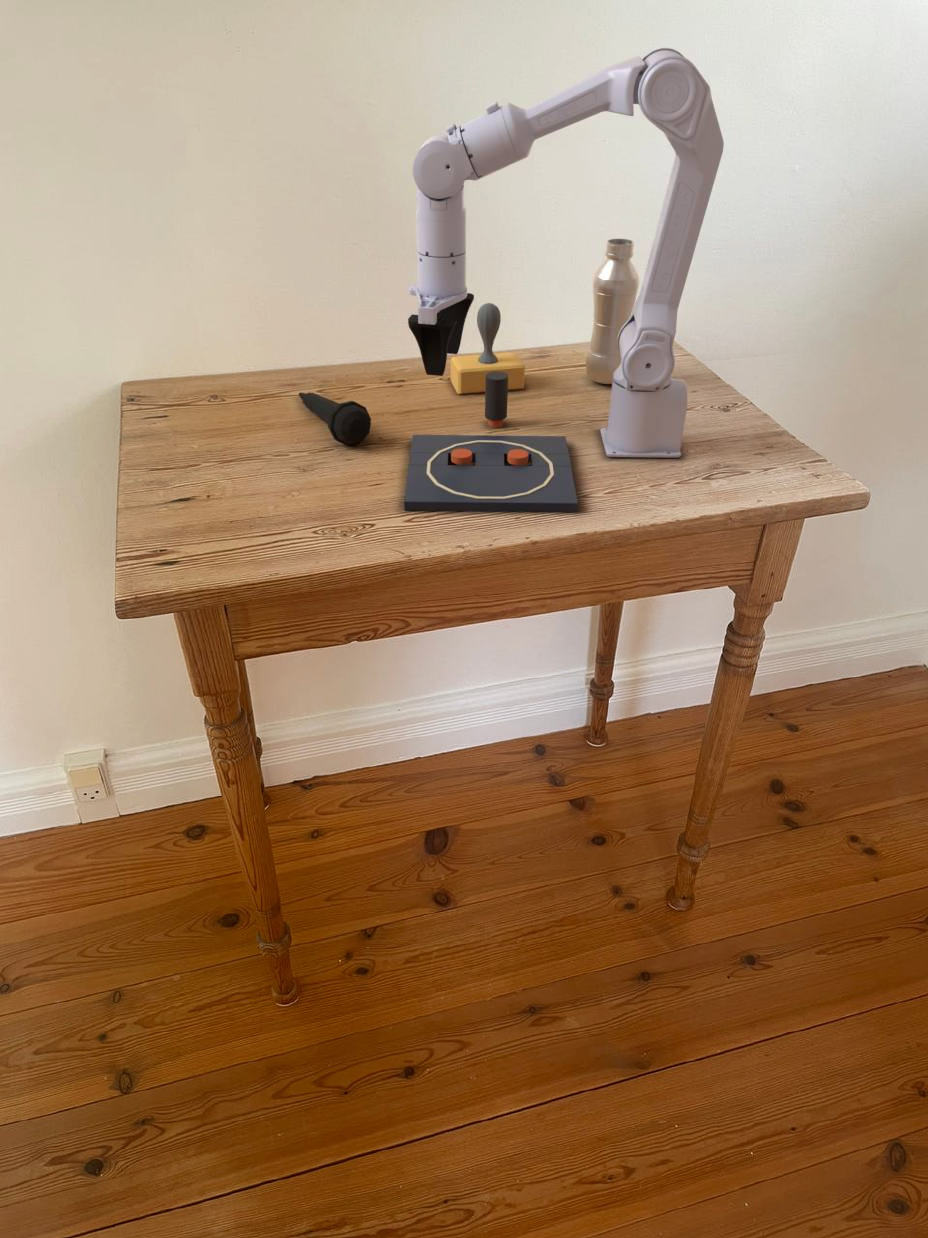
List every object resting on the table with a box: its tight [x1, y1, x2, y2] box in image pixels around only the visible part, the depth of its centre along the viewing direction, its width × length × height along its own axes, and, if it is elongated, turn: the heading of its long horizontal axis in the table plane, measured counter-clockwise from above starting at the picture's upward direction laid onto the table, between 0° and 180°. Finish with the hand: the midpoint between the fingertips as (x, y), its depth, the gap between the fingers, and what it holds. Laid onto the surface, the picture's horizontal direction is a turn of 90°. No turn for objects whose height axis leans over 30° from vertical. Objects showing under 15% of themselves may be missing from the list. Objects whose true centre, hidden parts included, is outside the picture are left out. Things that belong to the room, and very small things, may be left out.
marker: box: [484, 371, 509, 428], centre depth 124 cm, size 3×3×7 cm
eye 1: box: [450, 449, 472, 466], centre depth 114 cm, size 3×3×1 cm
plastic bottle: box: [585, 238, 640, 385], centre depth 133 cm, size 6×7×20 cm
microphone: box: [298, 391, 372, 447], centre depth 125 cm, size 6×6×20 cm
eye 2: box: [507, 449, 529, 466], centre depth 114 cm, size 3×3×1 cm
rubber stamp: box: [450, 302, 526, 395], centre depth 134 cm, size 10×6×12 cm, turn 103°
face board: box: [403, 434, 579, 513], centre depth 113 cm, size 20×18×1 cm
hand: (442, 363), depth 116 cm, fingers open, 7 cm apart
